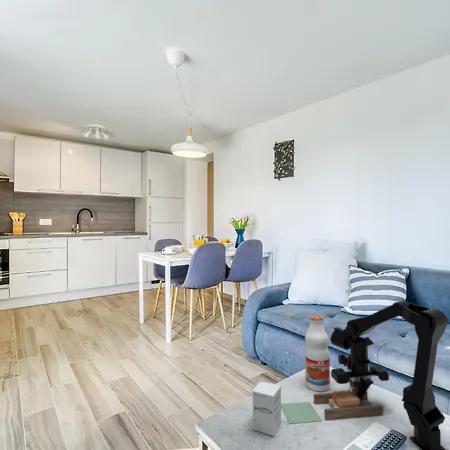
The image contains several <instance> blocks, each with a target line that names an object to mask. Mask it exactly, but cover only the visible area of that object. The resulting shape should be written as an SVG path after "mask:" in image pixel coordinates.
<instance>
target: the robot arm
mask: <svg viewBox="0 0 450 450" xmlns="http://www.w3.org/2000/svg"><path fill="white" fill-rule="evenodd" d="M398 317H401V318H402V319H404V320H405V321H406V322H407V323H408V324H410V325H413V326H414V332H415V334H416V336H417V339H418V340H417V348H416V353H415V354H416V356H415V364H414V370H413V378H412V383H410V384H409V385H407V386H406V387H405V386H404V387H403V389H402V393H403V395H402V399H400V400H401V402H402V403H403V404H402V405H403V408H404V410H405V411H406V414H407V417H408V419H409V423H410V425H411V426H413V436H409V440H410V441H411V442H412V443H414V445H415V446H416V447H418V448H419V449H420V450H447V449H446V448H445V447H444V446H442V443H441V442H442V441H441V438H442V437H441V429H440V427H439V426H440V425H442V424H443V423H444V421H445V419H446V417H445V416H444V414H443V413H442V411H441V410H440V409H439V407H438V406H437V405H436V396H435V394H434V392H433V389H432V388H433V387H432V386H433V379H434V373H435V365H436V359H437V358H436V356H437V351H438V350H437V349H438V346H439V345H438V343H439V341H440V340H441V338H442V337H443V335H444V334H445V331H446V328H447V326H448V323H449V320H448V317H447V315H445V313H444V312H443V311H442V310H440V309H437V308H429V307H427V306H423V305H419V304H415V303H412V302H410V301H406V300H400V301H397V302H393V303H392V304H391V305H389V306H386V307H384V308H382V309H380V310H378V311H376V312H373V313H371V314H370V315H366V316H363V317H362V316H361V317H358V318H354V319H349V320H348V321H347V322H346V327H345V328H344V329H343V328H341V327H334V329H333V332H331V335H330V339H329V341H330V343H331V345H333V346H335V347H338V348H340V349H343V350H345V351H349V352H350V354H347V355H348V357H347V356H345V354H338V356H337V357H338V358H337V359H338V361H337V362H338V364H339V365H343V367H346V369H347V368H348V369H349V370H351V372H348V371H346V370H345V369H344V368H342V367H340V368H338V367H337V368H332V369H331V371H330V378H332V379H333V381H335V382H336V384H339V385H343V384H344V385H346V384H348V383H349V381H350V382H351V383H352V384H353V385H354V388H355V390H356V393H357V396H358V398H359V399H362V398H363V396H364V395H365V393H366V391H367V392H368V390H369V388H370V387H371V385H373V384H374V381H373V380H372V377H377V379H379V381H381V382H387V381H388V382H389V380H390V375H389V373H388V371H386V369H384V368H383V367H382V366H380V365H374V366H373V365H371V366H369V364H371V360H370V358H369V347H370V346H373V345H374V344H375V343H374V341H373V340H371V338H370V337H369V336H366V337H363V336H365V335H367V334H369V333H370V332H372V331H373V330H375V328H377V327H378V326H379V325H382V324H384V323H387V322H389V321H391V320H394V319H396V318H398Z"/></svg>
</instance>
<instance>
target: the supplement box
mask: <svg viewBox="0 0 450 450" xmlns="http://www.w3.org/2000/svg"><path fill="white" fill-rule="evenodd" d="M281 395H282V385H280V384H276V383H270V382H266V381H262V380H260V381H259V382H258V383H257V385H255V387H254V388H253V390H252V430H253V431H257V432H260V433H263V434H266V435H269V436H272V437H275V436H276V434H277V432H278V430H279V428H280V426H281V424H282V407H281V404H282V399H281V398H282V396H281Z"/></svg>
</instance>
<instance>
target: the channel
mask: <svg viewBox="0 0 450 450" xmlns="http://www.w3.org/2000/svg"><path fill="white" fill-rule="evenodd" d="M351 391H352V390H351ZM352 392H353V393H354V394H355V395H356V396H357V393H356V391H352ZM368 395H369V394H368V390H367V391H366V393H365V395H364V396H363V398H362V399H359V400H360V401H361V400H368V398H369V397H368ZM357 397H358V396H357ZM329 399H332V392H323V393H322V392H320V393H313V403H314V405H323V404H330V403H329ZM368 401H369V400H368ZM323 410H324V414H323V415H324V420H325V421H331V420H332V421H333V420H343V419H355V418H365V417H366V418H367V417H368V418H369V417H378V416H384V406H383V405H382V404H372V405H367V406H355V407H342V408H333V407H330V408H324V409H323Z"/></svg>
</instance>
